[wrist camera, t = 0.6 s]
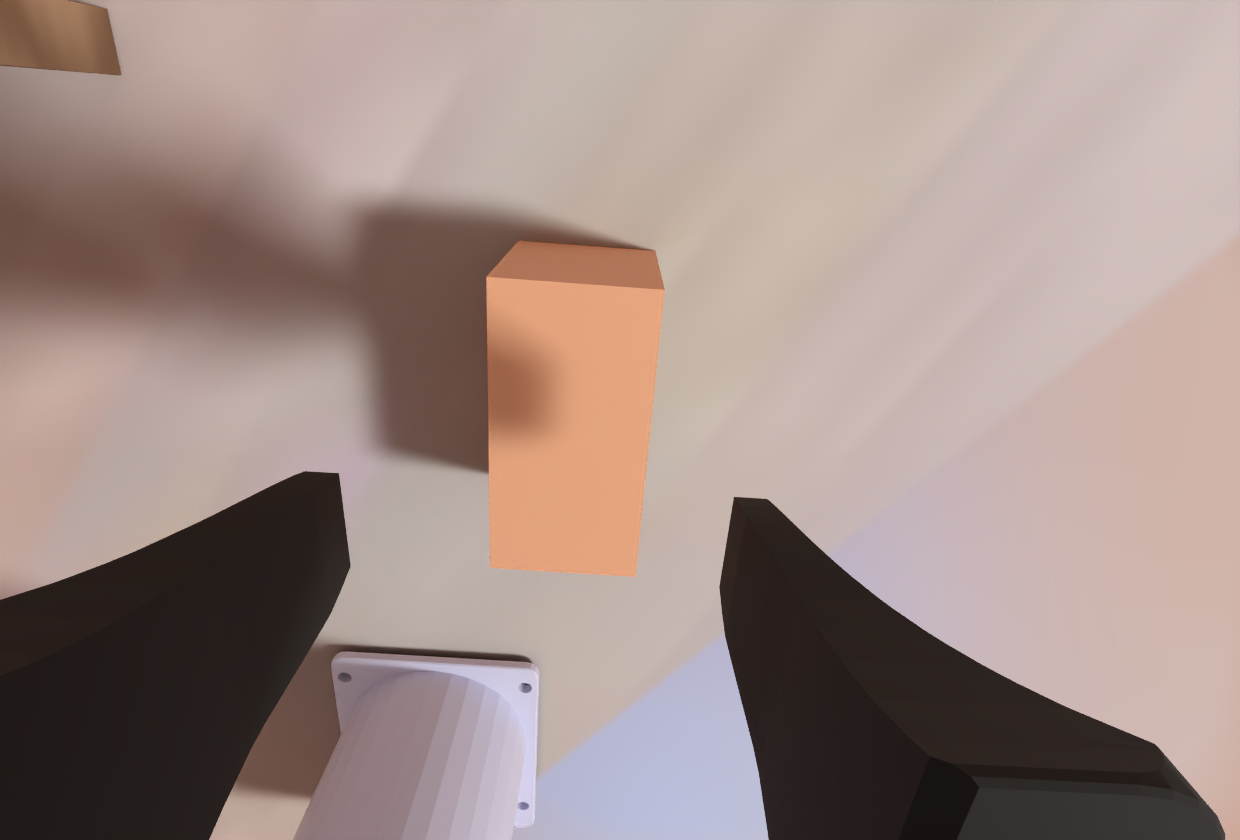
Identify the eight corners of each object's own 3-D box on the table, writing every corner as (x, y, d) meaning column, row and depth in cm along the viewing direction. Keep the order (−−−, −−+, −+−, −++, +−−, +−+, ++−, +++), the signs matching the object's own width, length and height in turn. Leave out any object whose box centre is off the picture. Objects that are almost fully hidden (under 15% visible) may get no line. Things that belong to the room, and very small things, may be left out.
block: (633, 485, 23) (635, 576, 18) (517, 477, 22) (490, 567, 18) (655, 250, 19) (664, 289, 15) (519, 239, 19) (486, 276, 15)
